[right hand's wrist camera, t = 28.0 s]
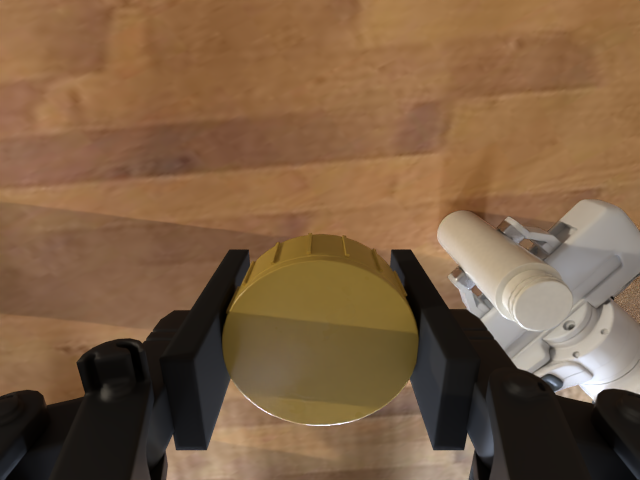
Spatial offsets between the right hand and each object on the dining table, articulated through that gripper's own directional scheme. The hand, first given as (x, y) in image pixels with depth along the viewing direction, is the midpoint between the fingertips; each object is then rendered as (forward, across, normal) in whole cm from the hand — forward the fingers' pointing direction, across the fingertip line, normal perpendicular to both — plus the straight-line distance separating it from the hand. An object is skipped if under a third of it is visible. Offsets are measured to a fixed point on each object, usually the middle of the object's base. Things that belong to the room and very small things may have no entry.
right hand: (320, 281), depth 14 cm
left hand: (+18, +15, -6) cm, 24 cm away
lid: (-4, 0, 0) cm, 4 cm away
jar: (+24, +15, -6) cm, 30 cm away
